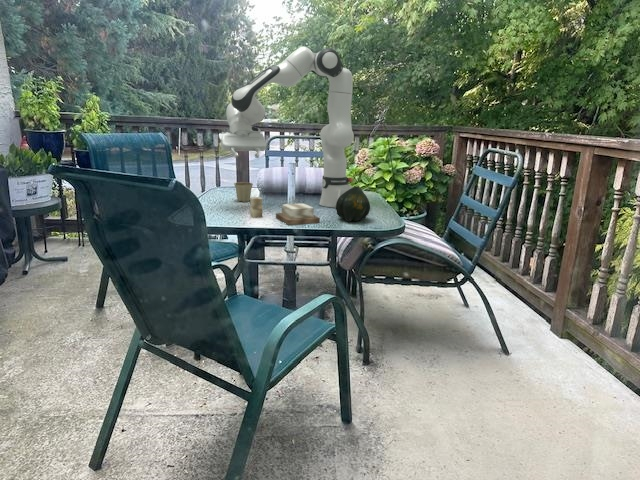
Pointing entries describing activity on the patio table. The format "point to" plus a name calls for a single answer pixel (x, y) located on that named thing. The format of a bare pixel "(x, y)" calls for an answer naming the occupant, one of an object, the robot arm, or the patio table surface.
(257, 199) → the birch block
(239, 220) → the patio table surface
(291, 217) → the plinth
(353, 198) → the squash
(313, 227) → the patio table surface
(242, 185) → the flower pot
